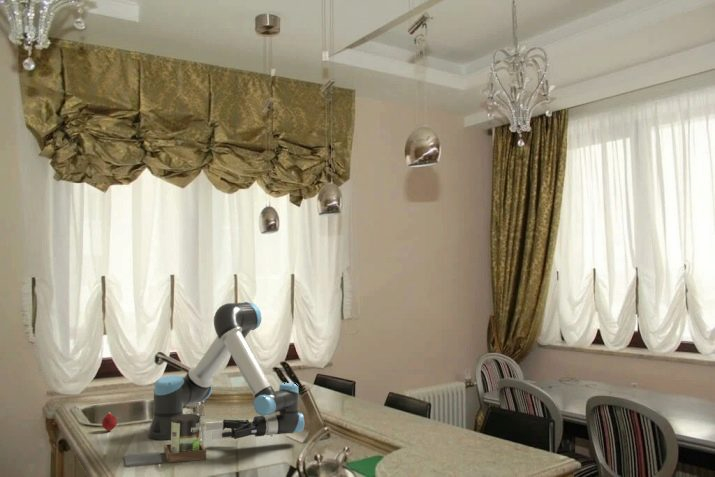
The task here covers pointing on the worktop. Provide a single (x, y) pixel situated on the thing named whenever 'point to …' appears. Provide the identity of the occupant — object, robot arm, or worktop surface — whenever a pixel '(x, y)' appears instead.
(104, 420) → the onion
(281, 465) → the worktop surface
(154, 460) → the mat
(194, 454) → the wooden square tray
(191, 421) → the coffee can
